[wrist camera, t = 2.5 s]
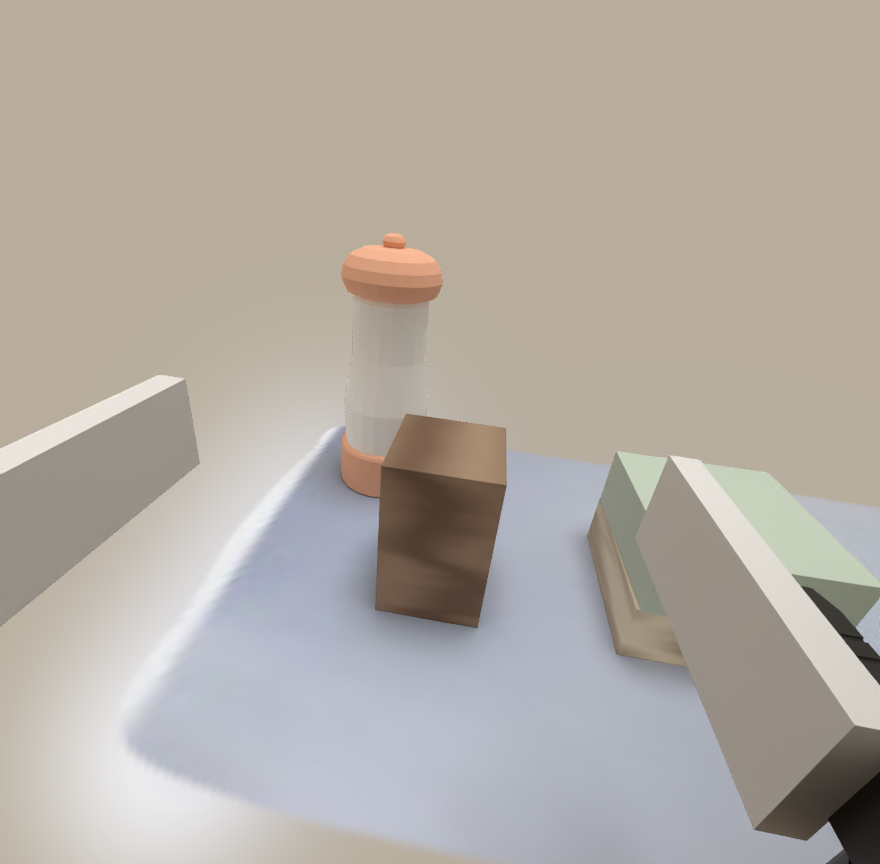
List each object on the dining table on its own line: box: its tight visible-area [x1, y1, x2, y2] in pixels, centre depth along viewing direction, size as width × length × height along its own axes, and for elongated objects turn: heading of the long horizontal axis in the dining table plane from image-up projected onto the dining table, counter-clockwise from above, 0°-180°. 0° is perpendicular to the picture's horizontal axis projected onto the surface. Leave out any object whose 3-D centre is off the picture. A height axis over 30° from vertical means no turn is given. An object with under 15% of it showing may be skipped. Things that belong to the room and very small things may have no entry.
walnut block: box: [375, 414, 507, 628], centre depth 25 cm, size 6×6×10 cm
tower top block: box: [600, 451, 880, 627], centre depth 26 cm, size 10×10×4 cm
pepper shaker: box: [341, 233, 443, 497], centre depth 33 cm, size 7×7×19 cm
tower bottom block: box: [587, 499, 687, 667], centre depth 28 cm, size 10×10×4 cm
